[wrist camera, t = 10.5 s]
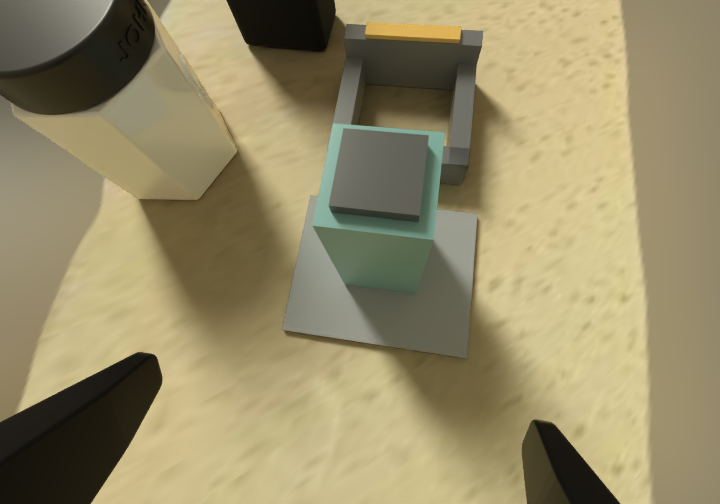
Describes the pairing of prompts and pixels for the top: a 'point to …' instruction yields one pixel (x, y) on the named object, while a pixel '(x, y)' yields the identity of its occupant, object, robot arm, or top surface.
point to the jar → (113, 94)
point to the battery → (285, 22)
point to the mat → (389, 294)
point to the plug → (379, 204)
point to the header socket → (415, 76)
